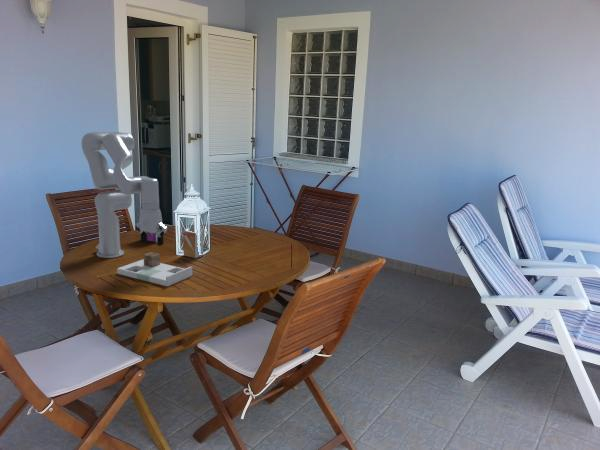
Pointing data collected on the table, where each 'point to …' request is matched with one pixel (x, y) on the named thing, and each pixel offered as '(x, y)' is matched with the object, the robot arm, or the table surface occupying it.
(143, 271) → the deck
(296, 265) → the table surface
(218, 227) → the table surface
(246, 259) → the table surface
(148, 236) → the candy bar box
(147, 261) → the walnut block
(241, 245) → the table surface
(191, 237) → the small box
